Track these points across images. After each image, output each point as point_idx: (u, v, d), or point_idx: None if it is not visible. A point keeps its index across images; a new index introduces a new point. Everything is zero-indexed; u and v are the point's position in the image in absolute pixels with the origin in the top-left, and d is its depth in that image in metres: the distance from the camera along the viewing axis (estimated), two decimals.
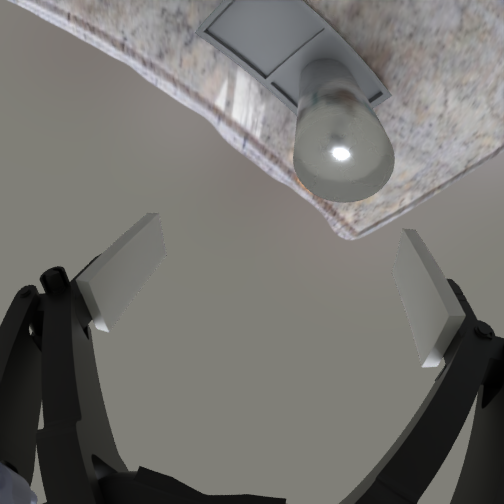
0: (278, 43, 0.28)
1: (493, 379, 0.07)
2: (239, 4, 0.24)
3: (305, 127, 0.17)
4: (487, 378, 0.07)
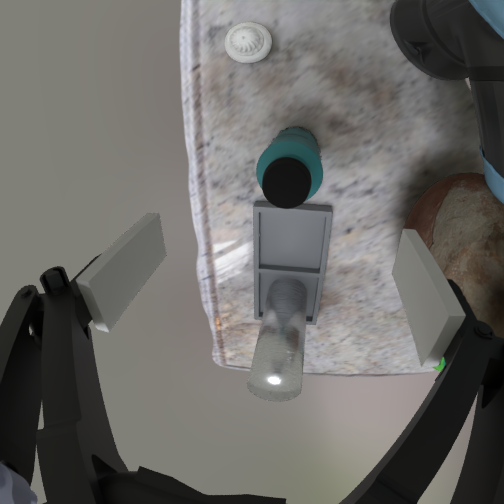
0: (286, 255, 0.47)
1: (493, 379, 0.07)
2: (295, 215, 0.43)
3: (272, 369, 0.33)
4: (488, 378, 0.07)
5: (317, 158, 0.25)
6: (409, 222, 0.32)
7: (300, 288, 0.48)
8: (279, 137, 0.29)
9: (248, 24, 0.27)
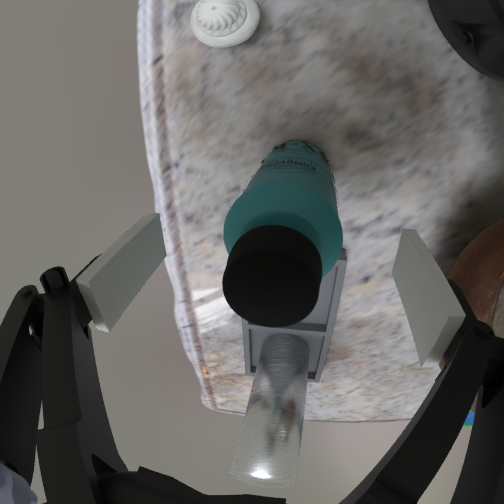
0: None
1: (493, 379, 0.07)
2: None
3: (258, 468, 0.22)
4: (488, 378, 0.07)
5: (334, 216, 0.13)
6: None
7: (301, 347, 0.37)
8: (268, 165, 0.18)
9: None
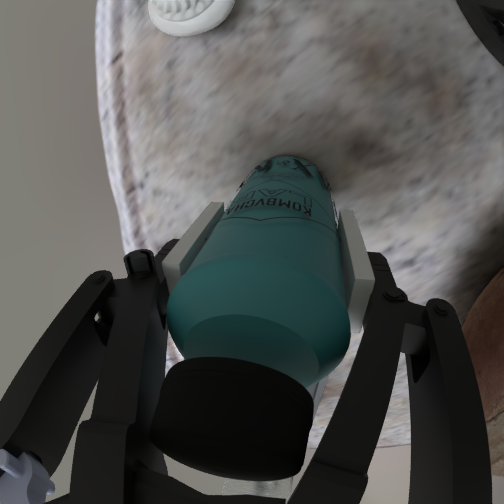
0: None
1: (414, 347, 0.09)
2: None
3: None
4: (407, 345, 0.09)
5: (340, 312, 0.08)
6: (480, 344, 0.15)
7: None
8: (240, 204, 0.12)
9: None
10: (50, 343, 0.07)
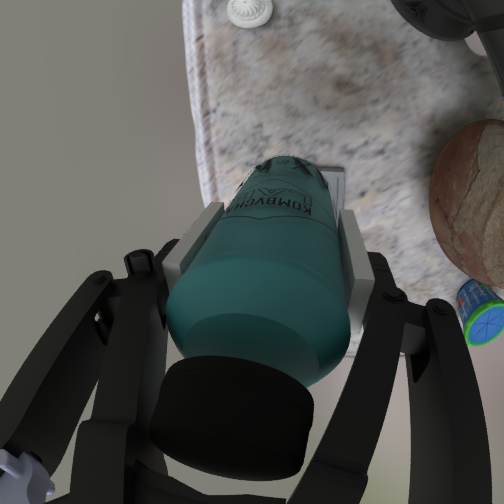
0: None
1: (414, 347, 0.09)
2: None
3: None
4: (407, 345, 0.09)
5: (340, 311, 0.08)
6: (445, 158, 0.26)
7: None
8: (240, 203, 0.12)
9: None
10: (50, 343, 0.07)
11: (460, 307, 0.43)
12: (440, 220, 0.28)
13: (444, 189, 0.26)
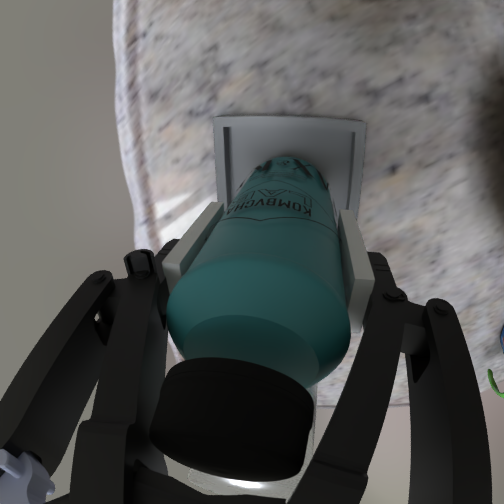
0: None
1: (414, 347, 0.09)
2: (294, 135, 0.21)
3: None
4: (407, 345, 0.09)
5: (340, 312, 0.08)
6: None
7: None
8: (240, 204, 0.12)
9: None
10: (50, 343, 0.07)
11: None
12: None
13: None
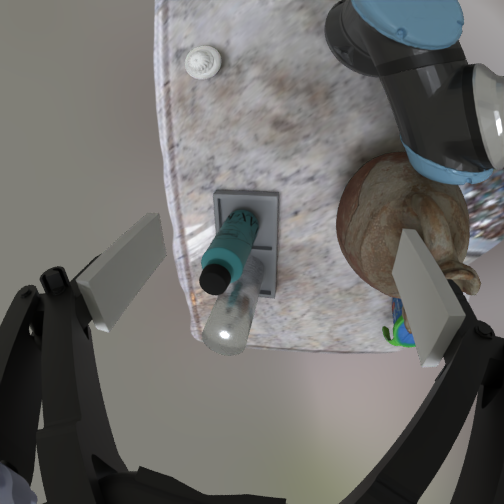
0: None
1: (493, 379, 0.07)
2: (248, 200, 0.52)
3: (219, 322, 0.42)
4: (487, 378, 0.07)
5: (237, 258, 0.40)
6: (343, 192, 0.40)
7: (256, 263, 0.57)
8: (220, 233, 0.44)
9: (202, 48, 0.36)
10: None
11: (392, 311, 0.56)
12: (339, 242, 0.42)
13: (339, 218, 0.40)
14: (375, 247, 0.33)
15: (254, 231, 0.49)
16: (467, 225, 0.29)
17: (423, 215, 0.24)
